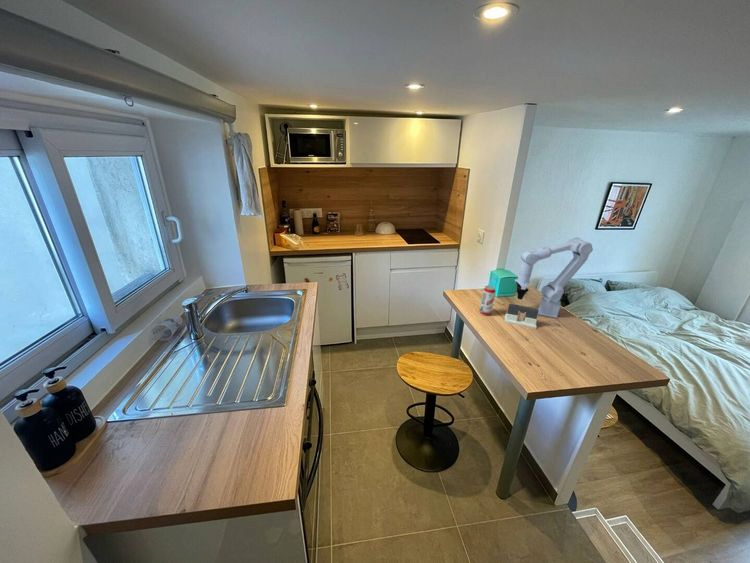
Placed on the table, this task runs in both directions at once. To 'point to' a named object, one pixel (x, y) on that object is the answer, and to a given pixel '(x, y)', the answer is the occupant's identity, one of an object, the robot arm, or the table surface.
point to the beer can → (487, 300)
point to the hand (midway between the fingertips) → (519, 296)
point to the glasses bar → (529, 311)
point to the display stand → (520, 320)
